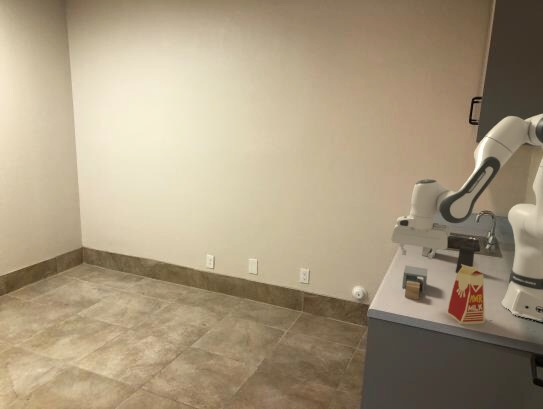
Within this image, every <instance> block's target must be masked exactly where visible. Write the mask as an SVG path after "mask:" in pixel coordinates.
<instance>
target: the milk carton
mask: <svg viewBox="0 0 543 409" xmlns="http://www.w3.org/2000/svg"><path fill="white" fill-rule="evenodd" d="M461 265H462V264H461ZM478 269H479V267H478V266H473V267H469V266H466V265H462V268H461V269H460V270H459V272H458V273H457V272H456V276H455V280H454V283H453V287H452V290H451V295H450V298H449V302H448V308H447V313H446V314H447V315H448V316H450V317H452V318H453V320H455V321H456V322H457V323H458V324H460V325H473V324H476V325H477V324H485V319H486V318H485V292H484V291H485V290H484V289H485V288H484V274H483V273H482V272H480V271H478Z"/></svg>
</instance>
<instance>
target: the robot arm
mask: <svg viewBox="0 0 543 409" xmlns="http://www.w3.org/2000/svg"><path fill="white" fill-rule="evenodd" d="M523 144H525V145H529V146H537V147H541V150H543V113H541V114H537V115H532V116H528V117H526V118H524V119H523V118H521V117H519V116H514V115H507V116H506V117H504V118H502V119H501V120H500V121H499V122H498V123H497V124H496V125H494V126H493V127H492V128H491V129H490V130H489V131H488V132H487V133H486V134H485V135H484V137H483V138H482V139H481V140H480V142H479V143H478V144H477V146H476V147H475V150H474V151H473V158H474V159H473V160H474V162H475V165H474V168H473V172H472V173H471V175H470V176H469V177H468V178H467V180H466V181H465V182H464V183H463V185H462V186H461V187H460V189H459V190H458V191H455V190H453V189H450V188H448V187H446V186H444V185H442V184H441V183H439V182H438V180H436V179H422V180H419V181H417V182H416V183H415V184H414V187H413V189H412V194H411V199H410V203H411V204H410V205H411V209H410V211H409V215H403V216H399V217H397V219H396V224H395V225H394V228H393V230H392V233H391V239H390V241H391V242H392V243H394V244H399V247H400V249H401V252H402V254H401V255H402V256H407V252H408V251H407V249H405V247H404V246H405V245H408V246H415V247H421V248H423V247H426V248H432V251H433V252H432V253H431V254H429V253H428V256H427V259H428V260H432V259H433V257H432V255H434V254H435V255H436V252H437V250H440V251H441V250H442V251H445V250H447V249H448V238H449V237H450V236H451V229H450V227H449V226H448V225H446V224H439V223H438V224H434V223H435V218H436V216H435V215H437V214H438V215H441V217H442V218H443V219H444V220H445V221H446V222H448V223H450V224H460V223H464V222H465V221H466V220H468V219H469V217H471V215H472V214H473V213H472V212H473V210H474V206H475V204H476V202H477V201H478V199H479V198H480V196H482V194H483V193H484V191H485V190H486V189H487V188H488V186H489V184H490V183H492V181H493V180H494V179H495V177H496V176H497V174H498V173H499V172H500V170H501V168H502V167H503V166H504V165H505V164H506V163H507V161H508V160H509V159H510V158H512V156H513V155H514V154H515V153H516V152H517V150H518V149H519V148H520V147H521V146H522V145H523ZM532 190H533V193H534V195H535V204H533V203H517V204H515V205H514V206H512V207H511V208H510V210H509V211H508V215H507V220H508V222H509V224H510V226H511V228H512V232H513V238H514V248H515V249H514V257H513V266H512V268H511V270H510V272H509V278H508V287H507V291H506V293H505V295H504V298H503V299H502V301H501V305H502V306H503V308H505V309H506V308H507V309H506V310H508V309H509V310H510V311H511V312H512V313H511V312H510V311H509V310H508V311H509V312H510V313H511V314H512V315H513V314H514V315H513V316H515V315H516V316H515V317H518V316H521V317H525V318H532V319H537V320H542V319H541V318H543V157H542V158H541V161H540V163H539V166H538V169H537V173H536V174H535V177H534V180H533V184H532ZM433 226H434V227H433ZM521 317H520V318H521ZM525 318H524V319H525Z"/></svg>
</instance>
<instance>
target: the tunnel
mask: <svg viewBox="0 0 543 409" xmlns="http://www.w3.org/2000/svg"><path fill="white" fill-rule="evenodd" d="M403 270H404V271H403V276H402V277H403V278H402V284H401V287H402V289H406V282H407V275H411V276H417V278H422V287H421V292H422V293H425V292H426V287H427V280H428V268H423V267H419V266H412V265H406V264H405V266H404V269H403Z"/></svg>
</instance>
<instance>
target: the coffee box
mask: <svg viewBox="0 0 543 409" xmlns="http://www.w3.org/2000/svg"><path fill="white" fill-rule="evenodd" d="M434 224H439V223H436V222H434ZM433 227H434V226H433ZM421 250H422V252H421V256H423V257H428V253H429V254H431V253H432V252H433V251H432V248H426V247H422V249H421ZM435 255H436V253H435V254H434V255H432V258H436V256H435Z"/></svg>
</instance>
